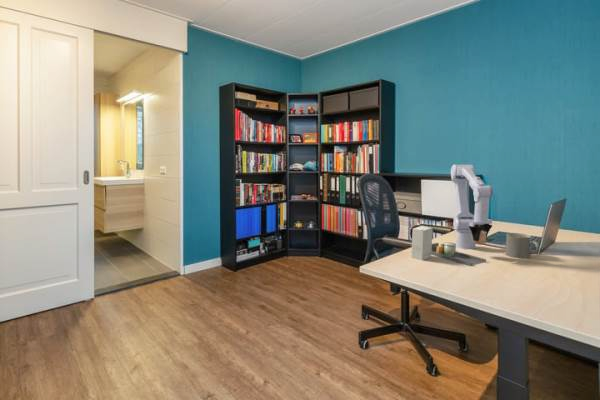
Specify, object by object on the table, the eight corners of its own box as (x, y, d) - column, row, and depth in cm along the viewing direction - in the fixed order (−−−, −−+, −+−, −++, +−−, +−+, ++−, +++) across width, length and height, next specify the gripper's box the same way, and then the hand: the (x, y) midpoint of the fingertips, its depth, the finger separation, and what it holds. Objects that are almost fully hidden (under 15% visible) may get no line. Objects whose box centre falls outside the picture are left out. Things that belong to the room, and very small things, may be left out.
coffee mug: (500, 254, 162) (501, 233, 161) (514, 251, 166) (515, 232, 165) (528, 261, 150) (530, 240, 149) (542, 258, 154) (544, 237, 153)
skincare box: (420, 255, 160) (421, 225, 158) (432, 258, 155) (433, 227, 153) (410, 259, 154) (411, 227, 153) (422, 262, 150) (423, 229, 148)
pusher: (447, 252, 163) (448, 242, 163) (449, 252, 162) (450, 243, 162) (436, 254, 159) (436, 244, 159) (438, 255, 158) (438, 245, 158)
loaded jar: (448, 253, 161) (448, 241, 160) (457, 256, 157) (458, 244, 156) (441, 254, 159) (441, 243, 158) (450, 257, 154) (451, 245, 153)
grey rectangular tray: (437, 249, 171) (437, 242, 170) (486, 263, 148) (487, 255, 148) (421, 252, 165) (421, 245, 164) (469, 267, 142) (470, 259, 142)
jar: (477, 241, 159) (478, 229, 158) (488, 243, 155) (489, 231, 154) (470, 242, 157) (471, 230, 156) (481, 245, 152) (482, 232, 151)
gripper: (480, 214, 147) (478, 243, 148) (499, 211, 154) (497, 239, 156) (465, 211, 153) (463, 240, 155) (484, 209, 160) (482, 236, 162)
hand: (479, 240), depth 155 cm, fingers closed on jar, 5 cm apart
